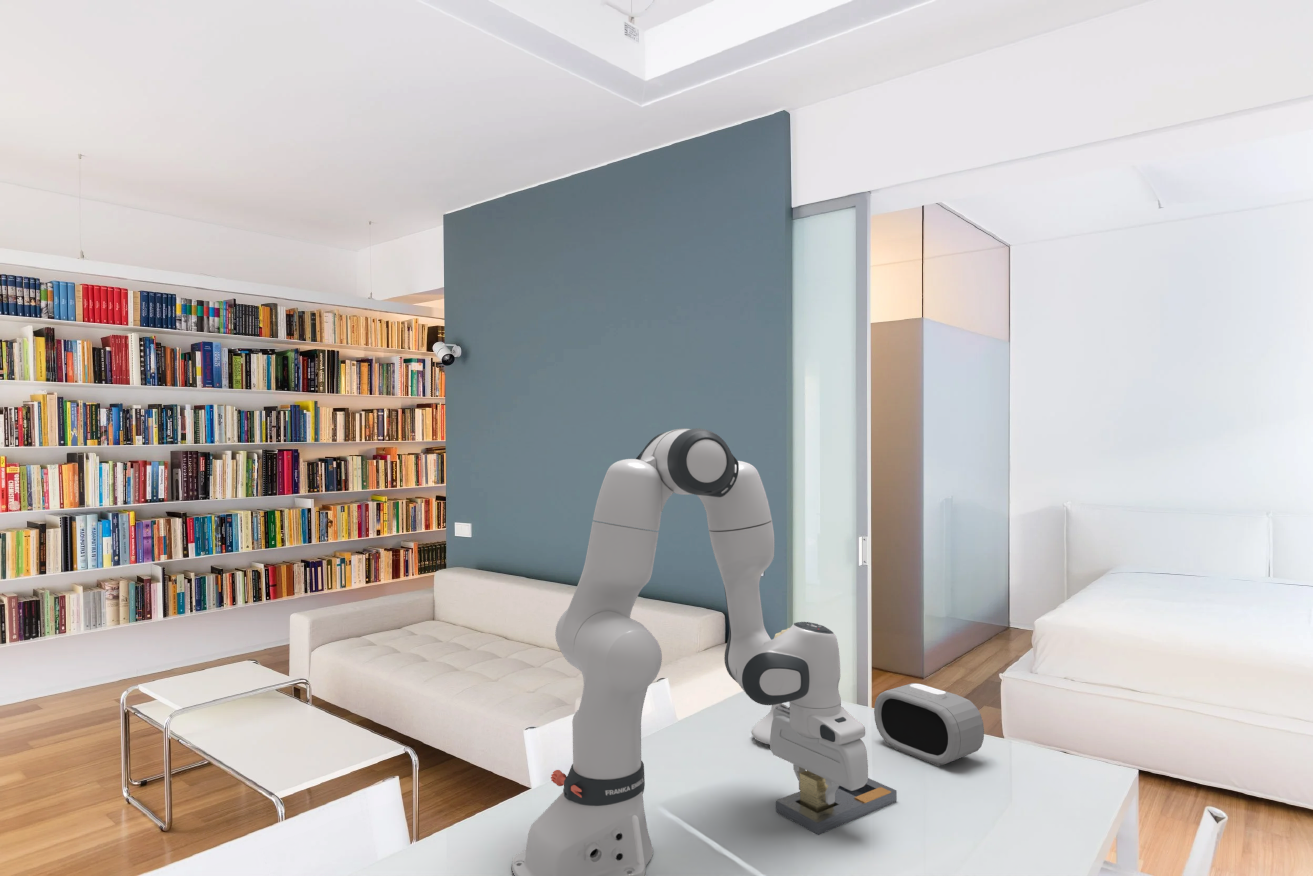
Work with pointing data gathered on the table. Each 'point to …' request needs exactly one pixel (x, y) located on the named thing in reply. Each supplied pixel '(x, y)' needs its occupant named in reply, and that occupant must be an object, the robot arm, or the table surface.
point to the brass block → (813, 792)
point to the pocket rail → (838, 806)
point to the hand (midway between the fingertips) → (816, 796)
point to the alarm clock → (929, 723)
